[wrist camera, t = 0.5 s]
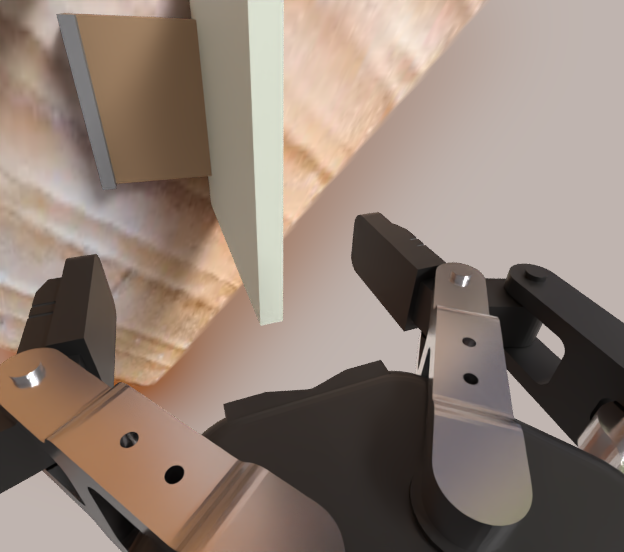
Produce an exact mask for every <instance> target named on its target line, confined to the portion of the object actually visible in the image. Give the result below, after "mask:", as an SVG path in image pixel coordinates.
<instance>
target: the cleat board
mask: <svg viewBox="0 0 624 552" xmlns="http://www.w3.org/2000/svg"><path fill="white" fill-rule="evenodd" d="M189 2H190V11H191V19H184V18H161V17H138V16H115V15H92V14H70V13H63V14H56V15H57V18H58V22H59V26H60V30H61V34H62V37H63V41H64V45H65V49H66V52H67V56H68V60H69V64H70V68H71V71H72V75H73V79H74V83H75V86H76V90H77V94H78V98H79V102H80V105H81V109H82V113H83V117H84V121H85V124H86V128H87V132H88V136H89V139H90V143H91V147H92V151H93V155H94V158H95V162H96V166H97V170H98V173H99V177H100V181H101V185H102V189H103V190H108V189H116V185H117V184H120V183H132V182H145V181H157V180H169V179H181V178H194V177H206V176H208V180H209V189H210V199H211V205H212V208H213V210H214V212H215V215H216V217H217V220H218V222H219V225H220V227H221V230H222V232H223V235H224V237H225V240H226V242H227V244H228V247H229V249H230V252H231V254H232V257H233V259H234V262H235V264H236V267H237V269H238V272H239V274H240V276H241V279H242V281H243V284H244V286H245V289H246V291H247V294H248V296H249V299H250V301H251V303H252V306H253V308H254V311H255V313H256V316H257V318H258V321H259V323H260V325H266V324H270V323H275V322H280V321H283V56H284V0H189Z"/></svg>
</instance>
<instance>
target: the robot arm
mask: <svg viewBox="0 0 624 552" xmlns="http://www.w3.org/2000/svg"><path fill="white" fill-rule="evenodd" d="M351 259H352V264H353V267H354V270H355V271H356V273H357V274H358V275H359V276H360V278H361V279H362V280H363V281H364V283H365V284H366V285H367V286H368V288H369V289H370V290H371V291H372V293H373V294H374V295H375V296H376V297H377V299H378V300H379V301H380V302H381V304H382V305H383V306H384V307H385V308H386V310H387V311H388V312H389V313H390V315H391V316H392V317H393V318H394V319H395V321H396V322H397V323H398V324H399V326H400V327H401V328H402V329H403V331H407V330H411V329H415V328H419V329H420V330H421V332H420V336H419V342H418V351H417V361H416V370H415V374H413V373H408V372H402V371H388V370H387V368H386V367H385V365H384V364H383V362H382V361H381V360H379V361H376V362H372V363H368V364H365V365H361V366H357V367H354V368H350V369H347V370H345V371H343V372H341V373H339V374H337V375H336V376H334V377H332V378H330V379H329V380H327V381H325V382H324V383H321V384H320V385H318V386H316V387H314V388H312V389H308V390H292V391H277V392H265V393H262V394H258V395H254V396H251V397H247V398H244V399H240V400H236V401H233V402H229V403H226V404H224V410H225V416H226V418H224V419H222V420H220V421H219V422H217V423H216V424H214V425H213V426H211V427H210V428H208V429H207V430H206V431H205V432H204V433H203V434H199V433H198V432H197V431H195V430H194V429H192V428H191V427H189V426H188V425H186V424H185V423H183V422H182V421H180V420H179V419H177V418H175V416H173V415H172V414H170V413H169V412H167V411H166V410H164V409H163V408H161V407H160V406H158V405H157V404H155V403H154V402H152V401H151V400H149V399H148V398H147V397H145V396H144V395H142V394H141V393H139V392H137V391H136V390H135V389H133V388H132V387H130V386H129V385H127V384H125V383H122V382H119V383H117V384H116V385H115V386H114V365H115V340H116V309H115V304H114V300H113V297H112V294H111V291H110V288H109V285H108V282H107V279H106V276H105V273H104V270H103V267H102V264H101V261H100V259H99V257H98V255H97V254H94V255H87V256H80V257H74V258H67V259H66V261H65V265H64V269H63V274H62V277H61V278H55V279H49V280H47V281H46V282H45V284H44V285H43V286H42V287H41V288H40V289H39V290H38V291H37V292H36V294H35V297H34V300H33V303H32V308H31V310H30V313H29V319H27V322H26V326H25V329H24V332H23V335H22V338H21V342H20V345H19V348H18V351H17V354H16V355H15V356H13V357H11V358H9V359H7V360H6V361H4V362H3V363H2V364H0V494H1V493H2V492H4V491H5V490H8V489H9V488H11V487H13V486H15V485H17V484H19V483H20V482H22V481H24V480H26V479H28V478H29V477H31V476H33V475H35V474H36V473H38V472H40V471H43V472H44V473H45V474H47V475H48V476H49V477H50V478H51V479H52V480H53V481H54V482H55V483H56V484H57V485H58V486H59V487H60V488H61V489H62V490H63V491H64V492H65V493H66V494H67V495H68V496H69V497H71V498H72V499H73V500H74V501H75V502H76V503H77V504H78V505H79V506H80V507H81V508H82V509H83V510H84V511H85V512H86V513H87V514H88V515H89V516H90V517H91V518H92V519H93V520H94V521H95V522H96V523H97V525H98V526H99V527H100V528H101V530H102V531H103V532H104V533H105V534H106V536H107V537H108V538H109V539H110V540H111V541H112V542H113V543H114V544H115V545H116V546H117V547H118V548H119V549H120V550H121V551H122V552H624V323H623V322H621V321H620V320H619V319H617V318H616V317H614V316H613V315H612V314H610V313H609V312H607V311H606V310H605V309H603V308H601V307H600V306H599V305H597V304H596V303H595V302H593V301H592V300H591V299H589V298H588V297H586V296H585V295H583V294H582V293H581V292H579V291H578V290H577V289H575V288H574V287H572V286H571V285H570V284H568V283H567V282H565V281H564V280H562V279H561V278H560V277H558V276H557V275H555V274H554V273H553V272H551V271H549V270H547V269H545V268H543V267H540V266H536V265H531V264H517V265H514V266H512V267H511V268H510V270H509V273H508V275H507V278H506V279H488V278H485V277H484V275H483V274H482V273H481V272H480V271H478V270H477V269H475V268H473V267H471V266H469V265H465V264H462V263H446V262H444V261H443V260H442V259H441V258H440V257H439V256H438V255H436V254H435V253H434V252H433V251H432V250H430V249H429V248H428V247H427V246H426V245H424V244H423V243H422V242H421V241H420V240H419V239H416V237H415V236H414V235H413V234H412V233H411V232H409V231H408V230H407V229H405V228H402V227H400V226H398V225H396V224H392V223H391V222H390V221H389V220H388V219H387V218H385V217H384V216H383V215H382V214H381V213H379V212H377V213H369V214H363V215H358V216H357V217H356V219H355V223H354V233H353V243H352V254H351ZM542 323H543V324H544V325H545V326H547V327H548V328H549V329H550V330H551V331H552V332H553V333H555V334H556V335H557V336H558V337H559V338H560V339H561V340H562V342H563V344H564V347H565V354H564V357H563V358H562V360H561V359H560V358H558V357H557V356H556V355H555V354H554V353H553V352H552V351H551V350H550V349H549V348H547V347H546V346H545V345H544V344H543V343H542V342H541V341H540V340H539V339H538V338H537V337H536V336H537V333H538V332H539V330H540V327H541V325H542ZM507 370H508V371H509V372H510V373H511V374H512V375H513V377H514V378H515V379H516V380H517V381H518V382H519V383H520V384H521V385H522V386H523V387H524V389H525V390H526V391H527V392H528V393H529V394H530V395H531V396H532V397H533V398H534V399H535V401H536V402H537V403H539V405H540V406H541V407H542V408H543V409H544V410H545V411H546V412H547V414H548V415H550V417H551V418H552V419H553V420H554V421H555V422H556V423H557V425H558V426H559V427H560V428H561V429H562V430H563V431H564V432H565V433H566V434H567V435H568V436H569V438H570V439H571V440H572V441H573V442H574V443H575V444H576V445H577V446H578V448H577V447H575V446H573V445H571V444H568V443H566V442H564V441H562V440H560V439H558V438H556V437H553V436H551V435H549V434H547V433H545V432H543V431H541V430H538V429H536V428H534V427H532V426H530V425H528V424H525V423H523V422H521V421H519V420H517V419H515V418H514V416H513V410H512V404H511V396H510V389H509V383H508V376H507Z"/></svg>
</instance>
